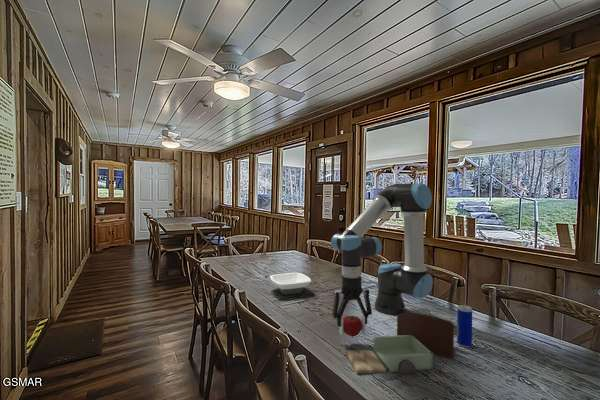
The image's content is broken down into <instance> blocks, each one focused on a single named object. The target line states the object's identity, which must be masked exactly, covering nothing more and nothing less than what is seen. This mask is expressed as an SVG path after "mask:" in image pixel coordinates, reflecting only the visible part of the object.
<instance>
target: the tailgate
mask: <svg viewBox="0 0 600 400" xmlns="http://www.w3.org/2000/svg"><path fill="white" fill-rule="evenodd" d="M345 354H346V356H347V358H348V360H349V362H350V363H351V365H352V367H353V369H354V370H355V372H356V374H371V373H372V374H373V373H384V372H390V371H389V370H388V369H387V367H386V366H385V365H384V363H383V362H382V361H381V359H380V358H379V357H378V355H377V354H376V353H375V352H374V349H364V350H363V349H361V350H360V349H353V350H352V349H351V350H349V349H347V350H345Z"/></svg>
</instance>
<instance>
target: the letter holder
mask: <svg viewBox="0 0 600 400" xmlns="http://www.w3.org/2000/svg"><path fill="white" fill-rule="evenodd" d="M396 315H397V316H396V317H397V318H396V336H399V335H413V336H414V337H415V338H416V339H417V340H418V341H419V342H420V343H422V344H423V345H424V346H425V347H426V348H427V349H428V350H429V351H431V352H432V353H433V355H435V356H439V357H443V358H448V359H452V360H453V359H454V355H455V354H454V351H455V349H454V347H455V346H454V345H455V342H454V337H455V325H454V323H453V322H452V321H450V320H447V319H443V318H440V317H435V316H431V315H426V314H420V313H419V314H418V313H407V312H403V313H399V314H396Z"/></svg>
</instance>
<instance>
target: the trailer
mask: <svg viewBox="0 0 600 400" xmlns="http://www.w3.org/2000/svg"><path fill="white" fill-rule="evenodd" d="M373 350H374V352H375V353H376V354H377V356H378V357H379V358H380V359H381V361H382V362H383V363H384V365H385V366H386V367H387V369H388V370H389V371H388V372H389V373H400V374H401V376H408V375H412V376H413V375H415V374H416V371H421V370H423V371H424V370H433V369H434V353H433V352H432V351H429V350H428V349H427V348H426V347H425V346H424V345H423V344H422V343H420V342H419V341H418V340H417V339H416V338H415V337H414V336H413V335H399V336H397V335H389V336H388V335H387V336H376V337H375V336H374V337H373Z"/></svg>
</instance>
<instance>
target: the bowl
mask: <svg viewBox="0 0 600 400" xmlns="http://www.w3.org/2000/svg"><path fill="white" fill-rule="evenodd" d="M269 279H270V280H271V281H272V282H273V284H274V285H275V286H276V287H277V289H278V290H279V292H280V293H281V294H282V293H283V294H282V295H284V294H285V295H284V296H288V295H287V294H293V295H297V294H296V293H299V294H301V293H302V292H303V290H304V289H305V288H306V287H308V285H309V284H310V283H311V282H312V280H311V278H310V277H309V276H308V275H306V274H303V273H301V272H287V273H286V272H285V273H276V274H271V275H269Z"/></svg>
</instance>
